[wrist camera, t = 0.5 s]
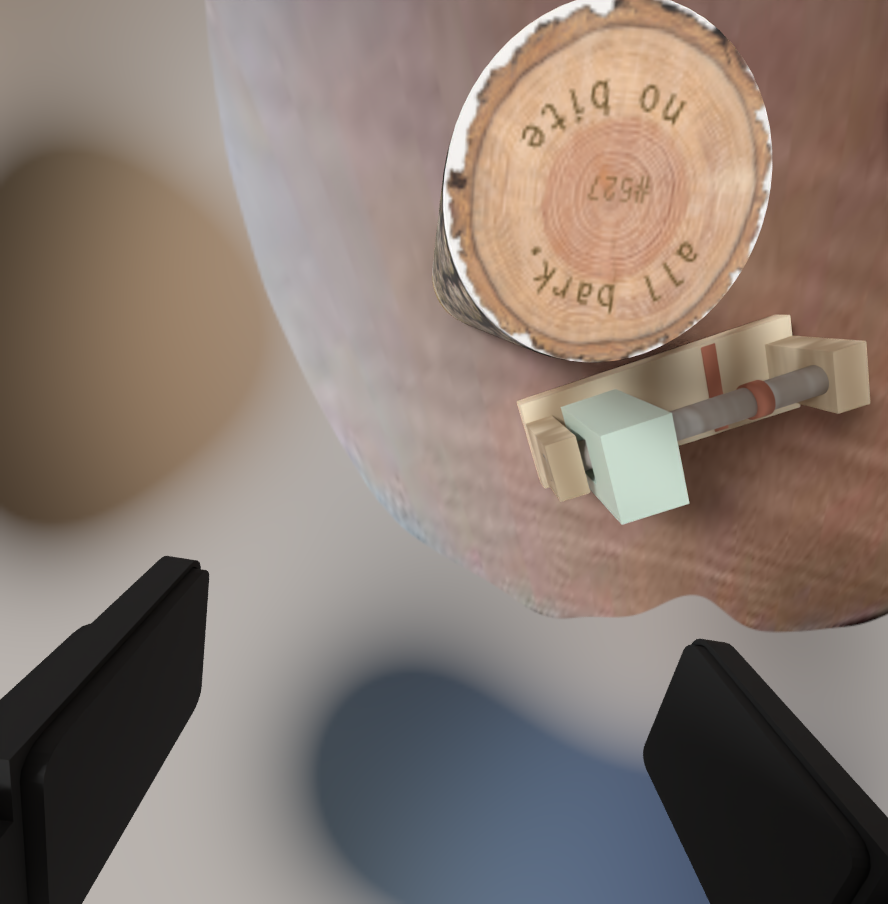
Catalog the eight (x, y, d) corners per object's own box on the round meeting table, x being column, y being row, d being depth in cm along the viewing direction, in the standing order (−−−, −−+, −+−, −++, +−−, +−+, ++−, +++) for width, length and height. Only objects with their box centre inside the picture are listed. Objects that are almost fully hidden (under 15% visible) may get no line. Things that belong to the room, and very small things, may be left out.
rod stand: (775, 314, 35) (864, 316, 28) (785, 403, 37) (871, 425, 30) (516, 401, 36) (538, 424, 29) (540, 482, 38) (566, 522, 31)
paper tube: (522, 327, 35) (731, 370, 11) (429, 323, 34) (434, 356, 11) (532, 226, 33) (813, 6, 9) (434, 220, 32) (452, -26, 9)
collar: (615, 388, 33) (671, 412, 26) (632, 460, 35) (689, 503, 27) (560, 407, 34) (600, 436, 26) (579, 477, 35) (621, 524, 27)
